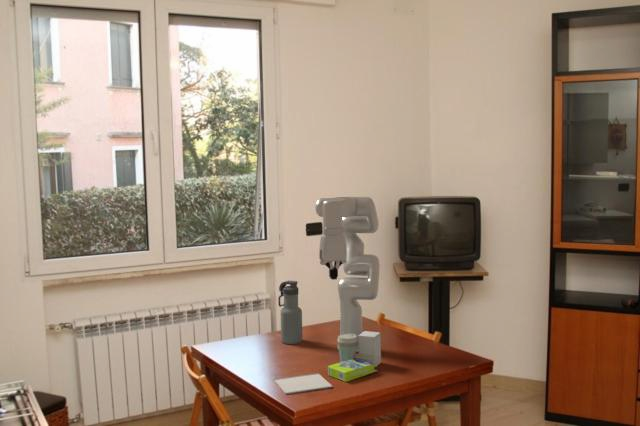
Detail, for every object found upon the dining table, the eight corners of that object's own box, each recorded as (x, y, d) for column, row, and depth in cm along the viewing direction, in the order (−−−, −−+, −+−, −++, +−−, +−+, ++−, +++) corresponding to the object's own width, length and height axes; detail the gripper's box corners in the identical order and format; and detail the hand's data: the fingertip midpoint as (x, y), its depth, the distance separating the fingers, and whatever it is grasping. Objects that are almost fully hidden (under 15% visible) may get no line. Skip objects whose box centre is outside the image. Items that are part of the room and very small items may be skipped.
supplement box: (381, 362, 267) (381, 332, 266) (375, 367, 261) (374, 336, 260) (364, 360, 271) (364, 330, 269) (358, 365, 264) (357, 335, 263)
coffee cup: (352, 369, 259) (351, 340, 258) (333, 366, 264) (333, 337, 263) (362, 363, 266) (361, 334, 265) (344, 360, 271) (343, 332, 270)
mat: (318, 374, 254) (318, 373, 254) (333, 387, 239) (333, 386, 239) (273, 380, 248) (273, 379, 248) (286, 394, 233) (286, 393, 233)
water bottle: (276, 342, 298) (274, 282, 296) (288, 337, 306) (287, 278, 304) (294, 345, 293) (293, 284, 290) (306, 340, 301) (305, 280, 299)
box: (327, 365, 252) (360, 355, 263) (327, 375, 253) (360, 365, 264) (345, 372, 244) (378, 361, 255) (345, 383, 245) (378, 372, 256)
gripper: (347, 229, 258) (347, 275, 259) (311, 232, 253) (312, 278, 254) (354, 231, 251) (355, 279, 252) (318, 234, 246) (318, 282, 247)
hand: (333, 278), depth 253 cm, fingers closed
